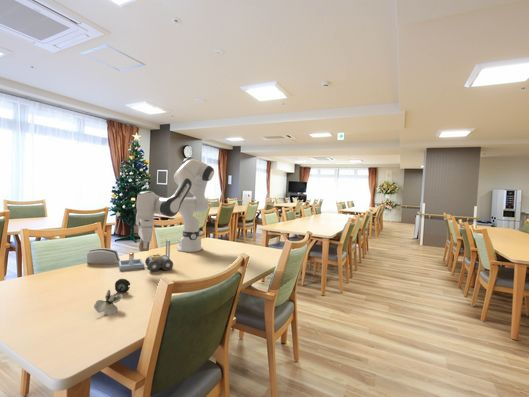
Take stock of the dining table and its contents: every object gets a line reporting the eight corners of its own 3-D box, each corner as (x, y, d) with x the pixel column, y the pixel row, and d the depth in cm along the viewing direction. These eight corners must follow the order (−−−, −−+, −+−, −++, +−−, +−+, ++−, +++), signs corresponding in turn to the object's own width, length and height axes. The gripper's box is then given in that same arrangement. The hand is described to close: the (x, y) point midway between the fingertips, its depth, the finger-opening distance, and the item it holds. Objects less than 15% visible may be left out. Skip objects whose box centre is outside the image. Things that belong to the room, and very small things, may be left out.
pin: (128, 265, 154) (129, 252, 154) (133, 264, 155) (133, 252, 155) (129, 266, 152) (129, 253, 152) (133, 266, 153) (134, 253, 153)
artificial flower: (134, 295, 120) (140, 274, 118) (109, 326, 97) (116, 302, 96) (113, 289, 118) (119, 269, 117) (84, 320, 96) (91, 295, 95)
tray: (118, 265, 156) (118, 260, 155) (141, 262, 162) (141, 258, 162) (119, 271, 145) (119, 266, 145) (143, 268, 152) (144, 264, 152)
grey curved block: (120, 261, 163) (119, 247, 160) (117, 266, 159) (115, 251, 155) (91, 260, 161) (88, 246, 157) (87, 265, 157) (84, 251, 153)
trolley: (148, 272, 145) (149, 243, 144) (145, 266, 155) (146, 239, 154) (173, 270, 152) (174, 241, 151) (168, 264, 162) (169, 238, 161)
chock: (139, 249, 145) (139, 241, 145) (147, 248, 147) (147, 240, 147) (140, 251, 141) (140, 242, 141) (148, 250, 143) (148, 242, 143)
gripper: (136, 218, 151) (135, 243, 151) (141, 224, 134) (140, 251, 134) (148, 218, 154) (147, 242, 155) (154, 223, 137) (153, 250, 137)
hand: (144, 246), depth 144 cm, fingers closed on chock, 5 cm apart
